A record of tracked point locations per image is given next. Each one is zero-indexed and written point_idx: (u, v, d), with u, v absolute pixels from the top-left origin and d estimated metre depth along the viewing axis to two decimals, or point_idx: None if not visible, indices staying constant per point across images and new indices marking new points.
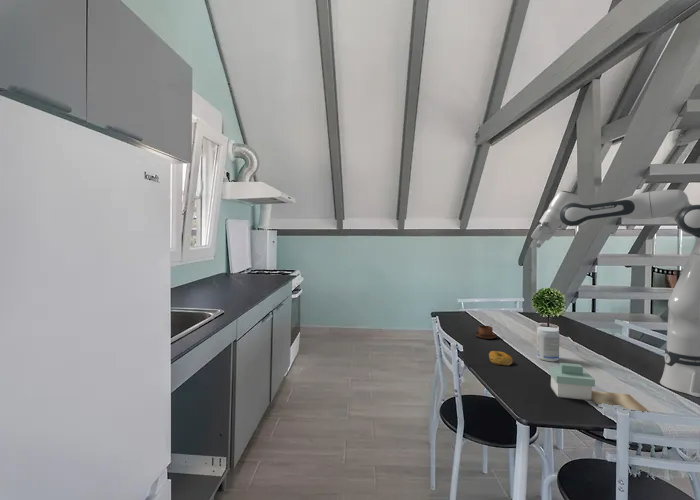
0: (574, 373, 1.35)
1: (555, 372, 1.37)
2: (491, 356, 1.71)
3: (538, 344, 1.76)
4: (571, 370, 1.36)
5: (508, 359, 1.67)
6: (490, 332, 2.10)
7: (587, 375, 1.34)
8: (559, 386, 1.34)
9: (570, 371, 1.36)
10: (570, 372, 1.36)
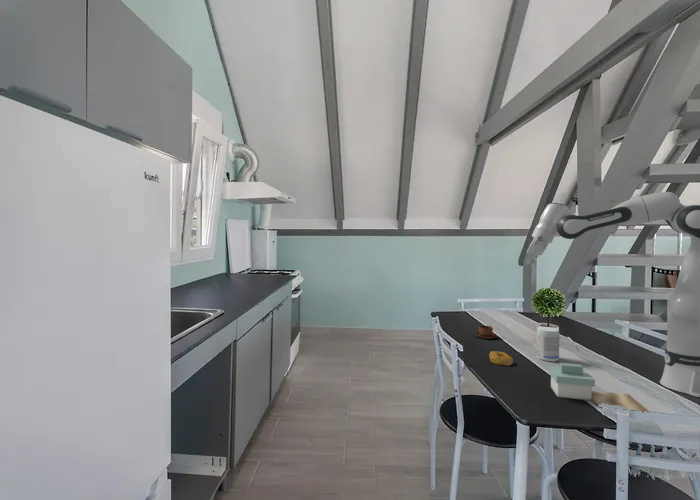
0: (574, 373, 1.35)
1: (555, 372, 1.37)
2: (491, 356, 1.70)
3: (538, 344, 1.76)
4: (571, 370, 1.36)
5: (508, 360, 1.67)
6: (490, 332, 2.10)
7: (587, 375, 1.34)
8: (559, 386, 1.34)
9: (570, 371, 1.36)
10: (570, 372, 1.36)
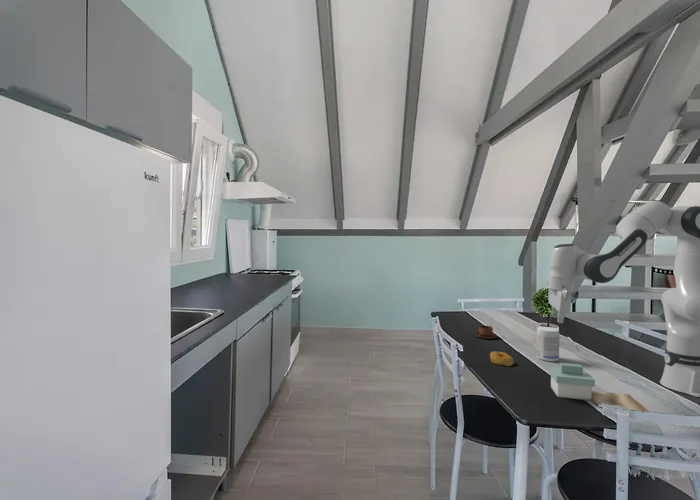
0: (574, 373, 1.35)
1: (555, 372, 1.37)
2: (492, 356, 1.70)
3: (538, 344, 1.76)
4: (571, 370, 1.36)
5: (509, 360, 1.67)
6: (490, 332, 2.10)
7: (587, 375, 1.34)
8: (559, 386, 1.34)
9: (570, 371, 1.36)
10: (570, 372, 1.36)
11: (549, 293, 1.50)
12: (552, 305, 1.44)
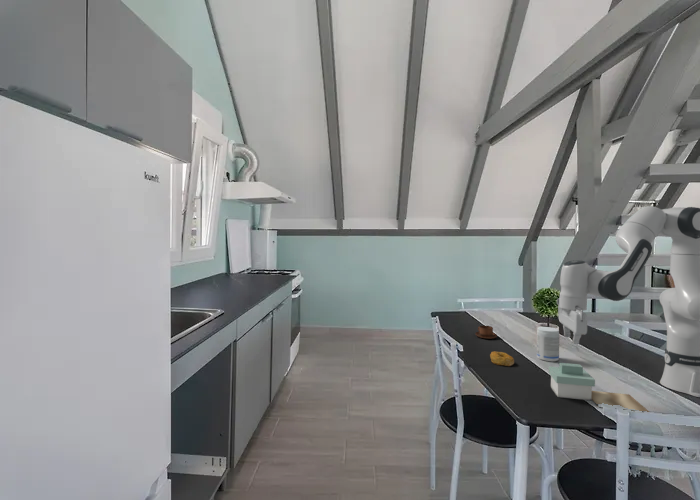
0: (574, 373, 1.35)
1: (555, 372, 1.37)
2: (492, 357, 1.70)
3: (538, 344, 1.76)
4: (571, 370, 1.36)
5: (509, 360, 1.67)
6: (490, 332, 2.10)
7: (587, 375, 1.34)
8: (559, 386, 1.34)
9: (570, 371, 1.36)
10: (570, 372, 1.36)
11: (559, 311, 1.45)
12: (565, 325, 1.39)
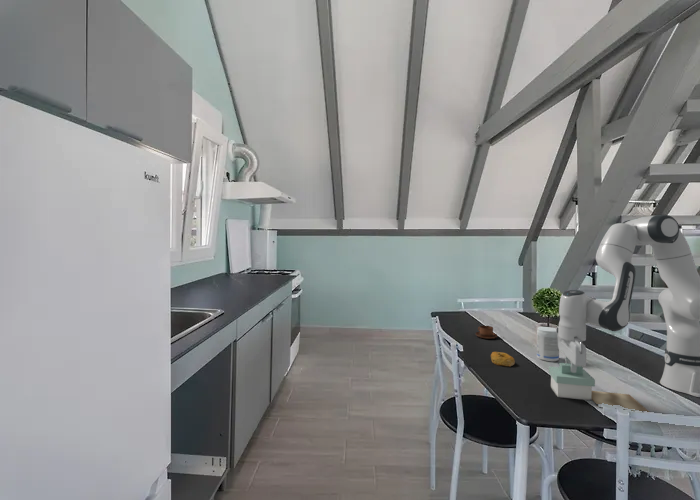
0: (574, 373, 1.35)
1: (555, 372, 1.37)
2: (493, 357, 1.69)
3: (538, 344, 1.76)
4: None
5: (510, 360, 1.66)
6: (490, 332, 2.10)
7: (587, 375, 1.34)
8: (559, 386, 1.34)
9: (570, 371, 1.36)
10: (570, 372, 1.36)
11: (558, 339, 1.45)
12: (564, 354, 1.39)
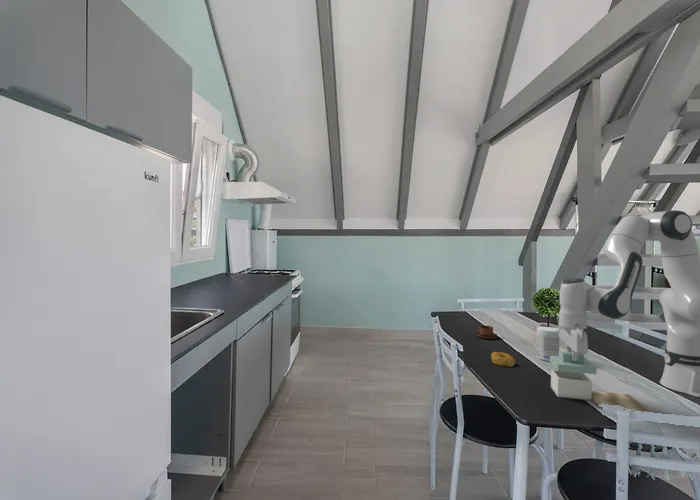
0: (575, 361, 1.35)
1: (556, 361, 1.37)
2: (493, 357, 1.69)
3: (538, 344, 1.76)
4: None
5: (511, 360, 1.66)
6: (491, 332, 2.10)
7: (588, 363, 1.34)
8: (559, 386, 1.34)
9: None
10: (571, 360, 1.35)
11: (559, 328, 1.45)
12: (565, 342, 1.39)
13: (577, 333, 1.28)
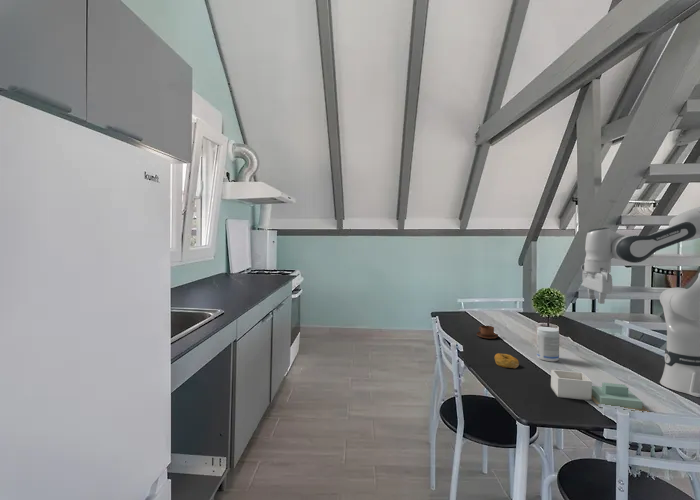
0: (619, 394, 1.29)
1: (598, 393, 1.31)
2: (497, 359, 1.67)
3: (538, 344, 1.76)
4: (616, 391, 1.30)
5: (515, 362, 1.64)
6: (491, 332, 2.10)
7: (633, 396, 1.28)
8: (559, 386, 1.34)
9: (615, 392, 1.30)
10: (614, 393, 1.30)
11: (583, 276, 1.56)
12: (589, 287, 1.50)
13: (602, 275, 1.40)
